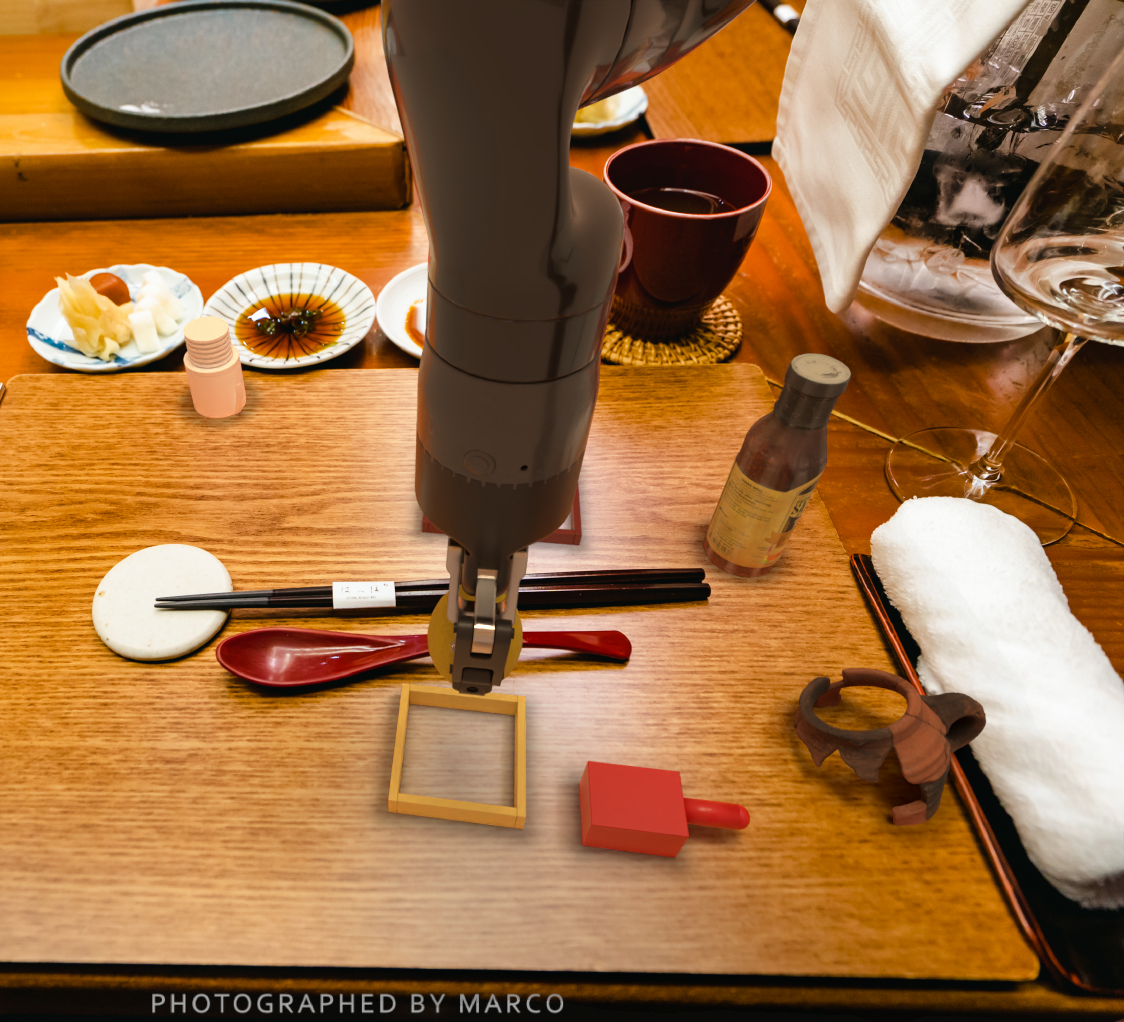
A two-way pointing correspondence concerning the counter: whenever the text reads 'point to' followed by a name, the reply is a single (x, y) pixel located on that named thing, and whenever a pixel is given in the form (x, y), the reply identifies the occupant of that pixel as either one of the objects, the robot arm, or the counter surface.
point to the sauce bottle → (776, 470)
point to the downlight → (213, 368)
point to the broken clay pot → (893, 735)
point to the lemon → (443, 636)
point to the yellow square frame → (456, 808)
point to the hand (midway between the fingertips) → (473, 641)
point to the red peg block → (645, 810)
